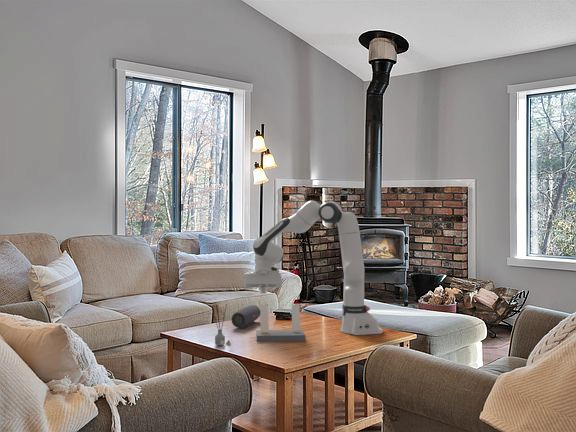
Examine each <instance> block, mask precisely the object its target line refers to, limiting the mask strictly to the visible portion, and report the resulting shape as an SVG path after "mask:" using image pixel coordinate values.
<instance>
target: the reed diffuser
mask: <svg viewBox="0 0 576 432" xmlns="http://www.w3.org/2000/svg"><path fill="white" fill-rule="evenodd" d="M215 305H216V307H215V308H216V313H217V318H216V316H215V312H214V308H213V307H211V309H212V312H213V316H214V319H215V323H216V327H217V334H216V335H214V344H215V345H216V346H224V345H225V344H226V345H231V342H230V340H229V339H228V340H227V341H225V340H226V336H225V335H224V334H223V330H222V329H223V325H224V320H225V316H226V315H225V314H226V312H224V313H223V319H222V324H220V316H219V310H218V309H219V308H218V304H215ZM225 306H227V304H225ZM224 308H225V309H224V311H226V310H227V307H224ZM216 319H217V320H218V322H217V320H216Z"/></svg>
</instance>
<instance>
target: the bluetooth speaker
mask: <svg viewBox="0 0 576 432" xmlns="http://www.w3.org/2000/svg"><path fill="white" fill-rule="evenodd" d="M260 317H261V314H260V307H259V306H257V305H255V304H254V305H253V304H252V305H248V306H246V307H243V308H241V309H239V310H237V311H236V312H235V313H233V314H232V316H231V323H232V325H233V326H234V327H235V328H247V327H249V326H251V325H252V324H253V323H254V322H255V321H256V320H258V319H259V318H260Z"/></svg>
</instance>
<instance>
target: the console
mask: <svg viewBox="0 0 576 432" xmlns="http://www.w3.org/2000/svg"><path fill="white" fill-rule="evenodd" d="M255 334H256V335H255V337H256V342H257V343H267V342H270V343H274V342H279V343H281V342H306V334H305V331H304V329H300V331H292V329H269V331H268V332H261V329H260V330H259V329H257V330H256V333H255Z"/></svg>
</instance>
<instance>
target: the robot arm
mask: <svg viewBox="0 0 576 432" xmlns="http://www.w3.org/2000/svg"><path fill="white" fill-rule="evenodd" d="M343 209H344V208H343V206H342V205H341V204H340V203H339V202H337V201H331V200H330V201H326V202H324V203H322V204H320V203H319V202H317V201H316V200H312V199H311V200H308V201H307V202H305V204H302V206H301V207H300V208H299V209H298V210H297V211H296V212H295V213H294V214H293V215H291V216H289V217H285V218H282V219H281V220H280V221H278V222H277V223H276V224H275V225H274V226H272V227H271V228H270V229H268V231H266V232H265V233H264V234H263V235H261V236H260V237H258V238H256V240H255V241H254V242H253V244H252V247H253V252H254V262H255V266H254V271H247V272H245V273H244V274H243V278H244V287H245V288H258V290H259V291H260V294H267V291H268V290H269V288H281V287H282V285H283V279H282V274H281V273H280V268H278V267H275V266H274V265H277V264H278V263H281V262H282V261H283V259H284V256H285V250H284V248H282V247H281V246H280V245H278V244H276V243H274V242H273V241H274V240H275V239H276V238H277V237H279V236H280V235H281V234H282V233H295V234H303V233H305V232H307V231H308V230H310V229H311V227H312V226H313V225H314V224H315V223H316V222H317V221H318V220H320V219H321V220H322V221H324V222H325V223H329V224H336V225H337V226H336V227H337V229H338V231H337V232H338V237H339V238H338V239H339V245H340V254H341V262H342V270H343V304H342V307H341V308H342V309H341V310H342V311H341V313H342V321H341V326H340V329H339V330H340V332H341V333H344V334H348V335H349V334H351V335H354V336H360V335H361V336H364V335H366V336H367V335H380V334H383V333H384V330H383V329H382V327H380V325H379V322H378V320H377V318H376V317H374V316H373V315H372V314H370V313H369V311H370V310H371V308H370V306H368V305H366V304H365V264H364V263H365V262H364V255H363V248H362V247H363V246H362V241H361V233H360V226H359V221H358V218H357V216H356V214H355V213H353V212H351V211H344V210H343Z"/></svg>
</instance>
